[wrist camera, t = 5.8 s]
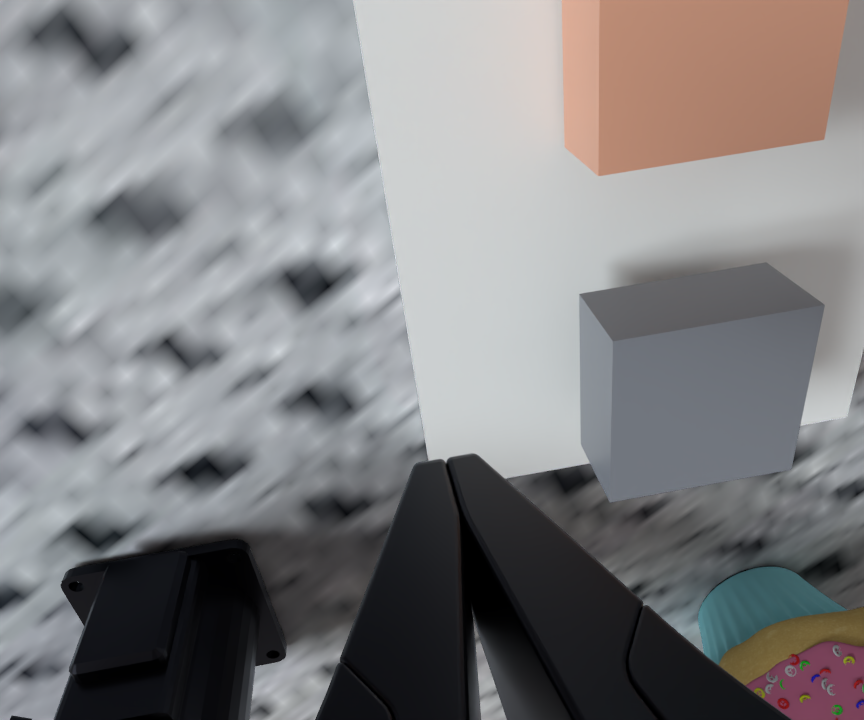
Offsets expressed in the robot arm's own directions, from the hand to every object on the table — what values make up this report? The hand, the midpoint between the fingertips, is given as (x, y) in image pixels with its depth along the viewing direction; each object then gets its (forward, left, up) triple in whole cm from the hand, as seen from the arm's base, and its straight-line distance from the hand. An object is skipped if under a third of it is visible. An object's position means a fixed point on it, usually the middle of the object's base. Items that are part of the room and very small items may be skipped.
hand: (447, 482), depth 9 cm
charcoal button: (-5, -7, -8) cm, 12 cm away
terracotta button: (+4, -7, -10) cm, 12 cm away
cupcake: (-20, -13, -12) cm, 27 cm away
